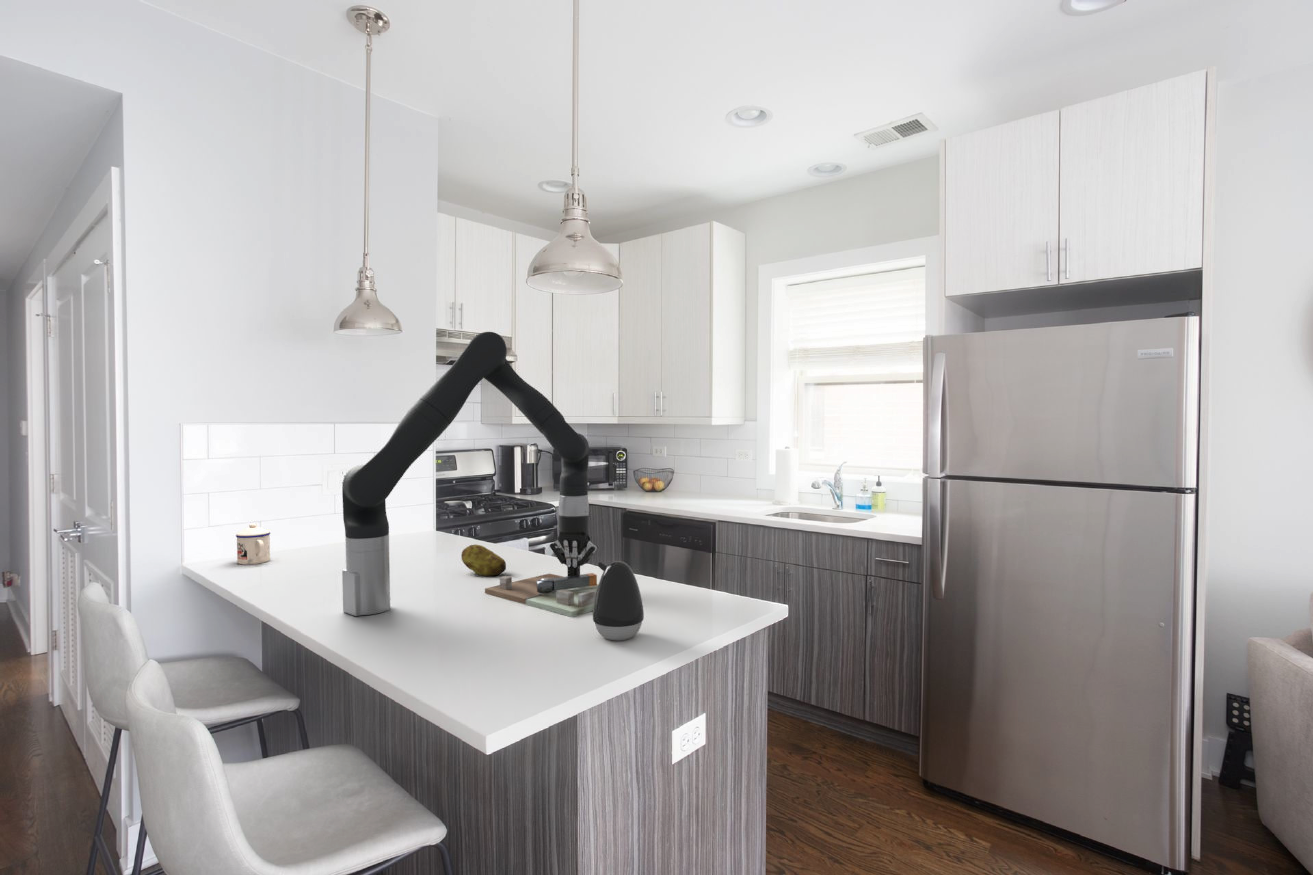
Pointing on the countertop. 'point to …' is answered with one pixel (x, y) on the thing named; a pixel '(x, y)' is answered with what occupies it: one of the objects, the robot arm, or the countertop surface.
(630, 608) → the pump dispenser
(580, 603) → the board
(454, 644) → the countertop surface
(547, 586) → the arm
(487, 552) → the potato
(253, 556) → the teacup with lid
